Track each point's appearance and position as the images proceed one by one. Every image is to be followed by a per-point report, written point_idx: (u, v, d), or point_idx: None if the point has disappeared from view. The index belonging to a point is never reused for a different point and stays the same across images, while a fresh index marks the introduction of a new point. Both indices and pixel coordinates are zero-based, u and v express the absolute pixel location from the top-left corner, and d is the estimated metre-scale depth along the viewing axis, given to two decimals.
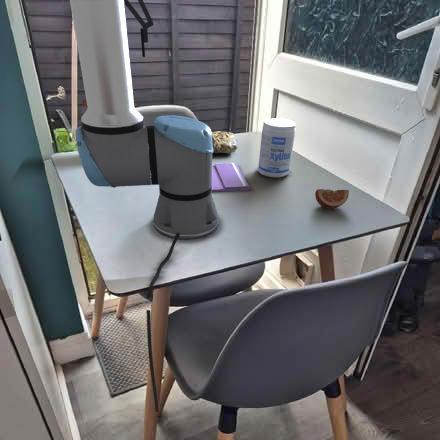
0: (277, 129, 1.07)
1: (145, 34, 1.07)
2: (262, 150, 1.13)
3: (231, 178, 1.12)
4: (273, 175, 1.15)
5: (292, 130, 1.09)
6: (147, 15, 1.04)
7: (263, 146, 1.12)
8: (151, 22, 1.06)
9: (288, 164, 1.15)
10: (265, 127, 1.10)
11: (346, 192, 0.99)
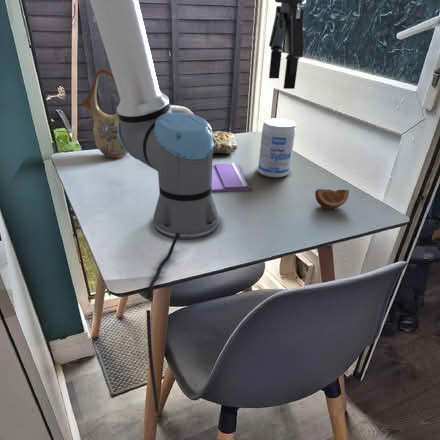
0: (277, 129, 1.07)
1: (290, 65, 0.95)
2: (262, 150, 1.13)
3: (231, 178, 1.12)
4: (273, 175, 1.15)
5: (292, 130, 1.09)
6: (292, 44, 0.92)
7: (263, 146, 1.12)
8: (292, 53, 0.92)
9: (288, 164, 1.15)
10: (265, 127, 1.10)
11: (346, 192, 0.99)
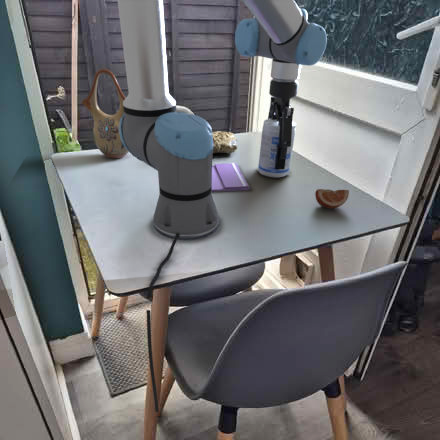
0: (278, 129, 1.07)
1: (280, 151, 1.09)
2: (262, 150, 1.13)
3: (231, 178, 1.12)
4: (273, 175, 1.15)
5: (292, 130, 1.09)
6: (282, 136, 1.06)
7: (263, 146, 1.12)
8: (281, 143, 1.06)
9: (288, 164, 1.15)
10: (265, 127, 1.10)
11: (346, 192, 0.99)
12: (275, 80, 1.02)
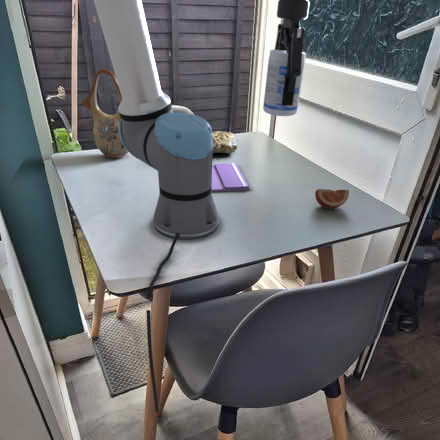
0: (286, 56, 0.96)
1: (288, 83, 0.99)
2: (268, 84, 1.02)
3: (231, 178, 1.12)
4: (280, 113, 1.04)
5: (302, 59, 0.98)
6: (291, 63, 0.95)
7: (269, 79, 1.01)
8: (290, 72, 0.95)
9: (296, 101, 1.04)
10: (271, 56, 0.99)
11: (346, 192, 0.99)
12: None
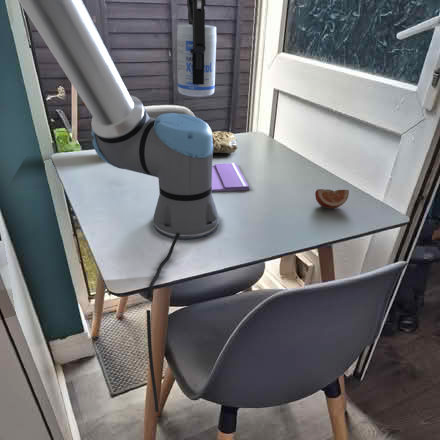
0: (191, 30, 0.89)
1: (195, 59, 0.91)
2: (178, 61, 0.95)
3: (231, 178, 1.12)
4: (192, 93, 0.97)
5: (210, 33, 0.90)
6: (194, 37, 0.87)
7: (178, 56, 0.94)
8: (194, 46, 0.88)
9: (210, 80, 0.97)
10: (178, 30, 0.92)
11: (346, 192, 0.99)
12: None
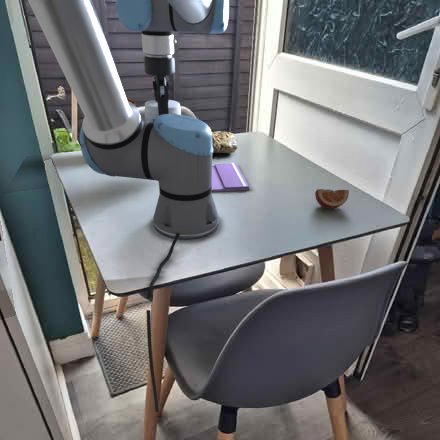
0: (156, 110, 0.98)
1: None
2: None
3: (231, 178, 1.12)
4: None
5: (174, 112, 1.00)
6: None
7: None
8: None
9: None
10: (145, 109, 1.00)
11: (346, 192, 0.99)
12: (147, 56, 0.93)
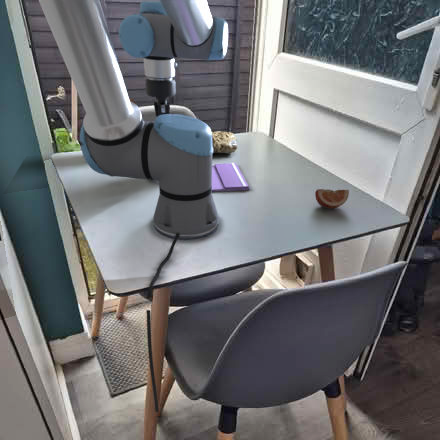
0: None
1: None
2: None
3: (231, 178, 1.12)
4: None
5: None
6: None
7: None
8: None
9: None
10: None
11: (346, 192, 0.99)
12: (148, 78, 0.96)
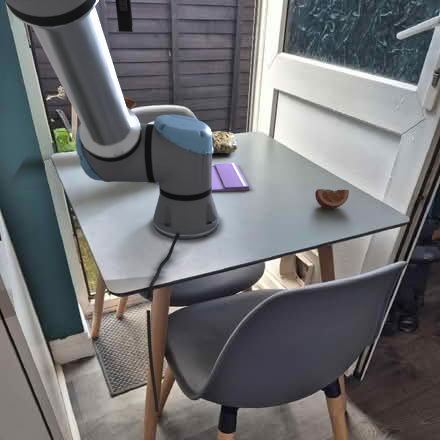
0: None
1: None
2: None
3: (231, 178, 1.12)
4: None
5: None
6: None
7: None
8: None
9: None
10: None
11: (346, 192, 0.99)
12: None
